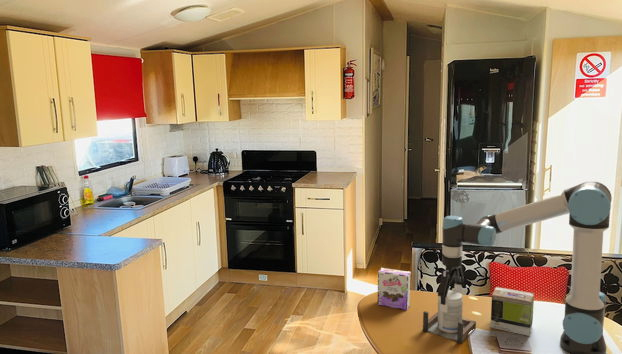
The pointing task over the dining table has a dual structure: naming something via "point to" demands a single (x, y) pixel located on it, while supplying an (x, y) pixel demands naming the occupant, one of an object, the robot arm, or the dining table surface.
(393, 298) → the candy box
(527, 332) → the tea box
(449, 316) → the supplement tub
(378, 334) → the dining table surface
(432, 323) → the keeper cradle
